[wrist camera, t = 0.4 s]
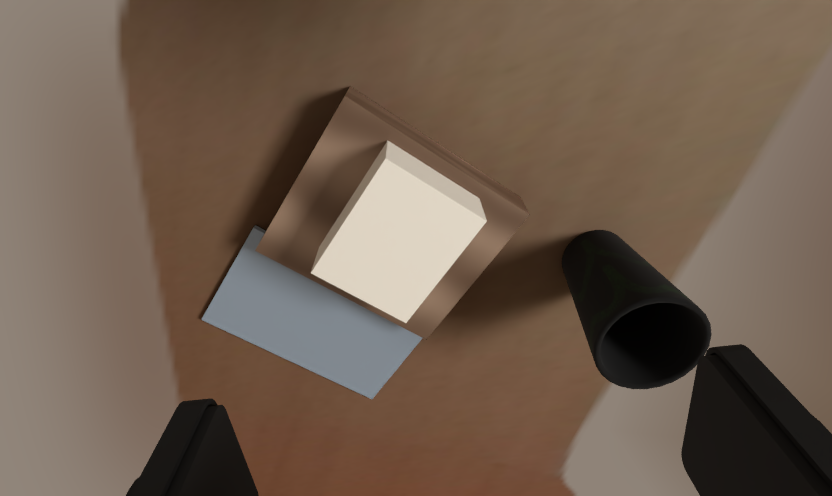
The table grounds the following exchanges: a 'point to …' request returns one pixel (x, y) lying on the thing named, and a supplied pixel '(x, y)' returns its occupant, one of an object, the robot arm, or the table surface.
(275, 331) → the mat
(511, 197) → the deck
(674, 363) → the cup
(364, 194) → the cream rectangular block
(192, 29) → the table surface
